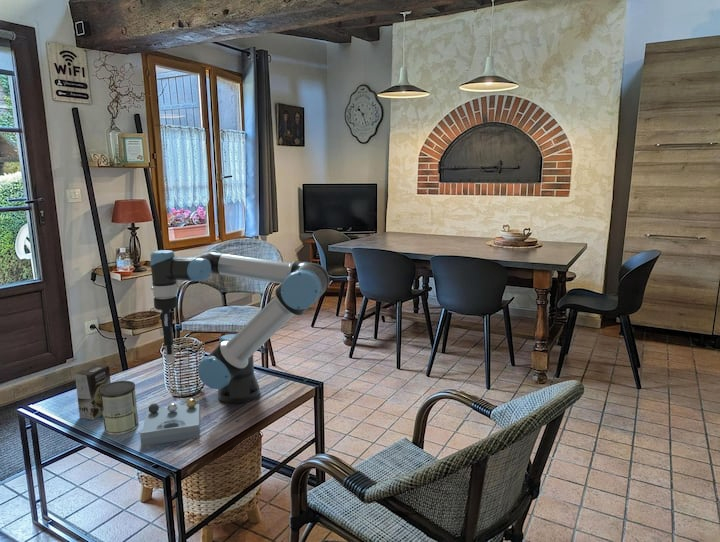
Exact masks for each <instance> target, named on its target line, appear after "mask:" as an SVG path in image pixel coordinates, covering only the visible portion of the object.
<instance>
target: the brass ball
mask: <svg viewBox="0 0 720 542" xmlns="http://www.w3.org/2000/svg"><path fill="white" fill-rule="evenodd" d="M196 404H197V401H196V399H194V398H189V399H187V401H186V405H187V407H188V408H194V407H195V406H196Z"/></svg>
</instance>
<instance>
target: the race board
mask: <svg viewBox="0 0 720 542" xmlns="http://www.w3.org/2000/svg"><path fill="white" fill-rule="evenodd" d="M200 406H201V405H200V403H196V406H195V407H194V408H188V407H187V405H180V406H179V405H177V407H178V408H177V411H176V412H174V413H170V412H169V411H168V409H167V407H164V408H159V410H158V411H157V412H156V413H150V412H149V409H148V410H146V414H145V418H144V422H143V426H142V431H140V432H139V435H140V446H141V447H144V446H151V445H157V444H158V445H159V444H164V443H172V442H173V443H174V442H179V441H184V440H191V439H198V438H200V436H201V434H200V433H201V432H200V429H201V428H200V426H201V423H200V422H201V415H200V414H201V413H200V412H201V411H200V409H201V408H200Z"/></svg>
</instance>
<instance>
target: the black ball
mask: <svg viewBox="0 0 720 542" xmlns="http://www.w3.org/2000/svg"><path fill="white" fill-rule="evenodd" d="M159 409H160V407H159V405H158V403H151V404H149V407H148V410H149V412H150V413H156V412H157V411H158V410H159Z"/></svg>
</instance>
